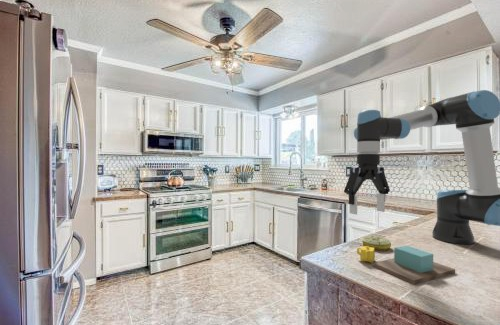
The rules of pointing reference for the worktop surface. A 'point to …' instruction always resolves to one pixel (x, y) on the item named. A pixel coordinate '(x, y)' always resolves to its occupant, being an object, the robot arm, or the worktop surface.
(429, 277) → the walnut board
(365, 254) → the teapot
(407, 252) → the base brick
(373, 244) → the decorated donut
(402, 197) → the worktop surface
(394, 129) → the robot arm
